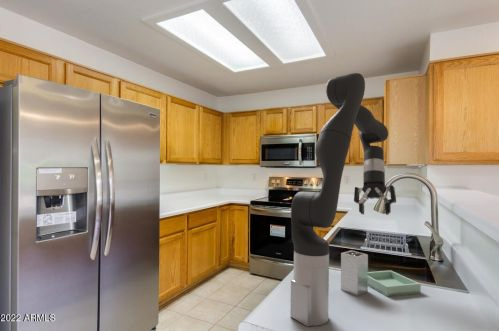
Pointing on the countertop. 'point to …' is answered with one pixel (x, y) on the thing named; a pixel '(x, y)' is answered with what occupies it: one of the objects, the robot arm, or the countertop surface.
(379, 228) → the countertop surface
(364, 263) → the canister
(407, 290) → the bin
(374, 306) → the countertop surface
